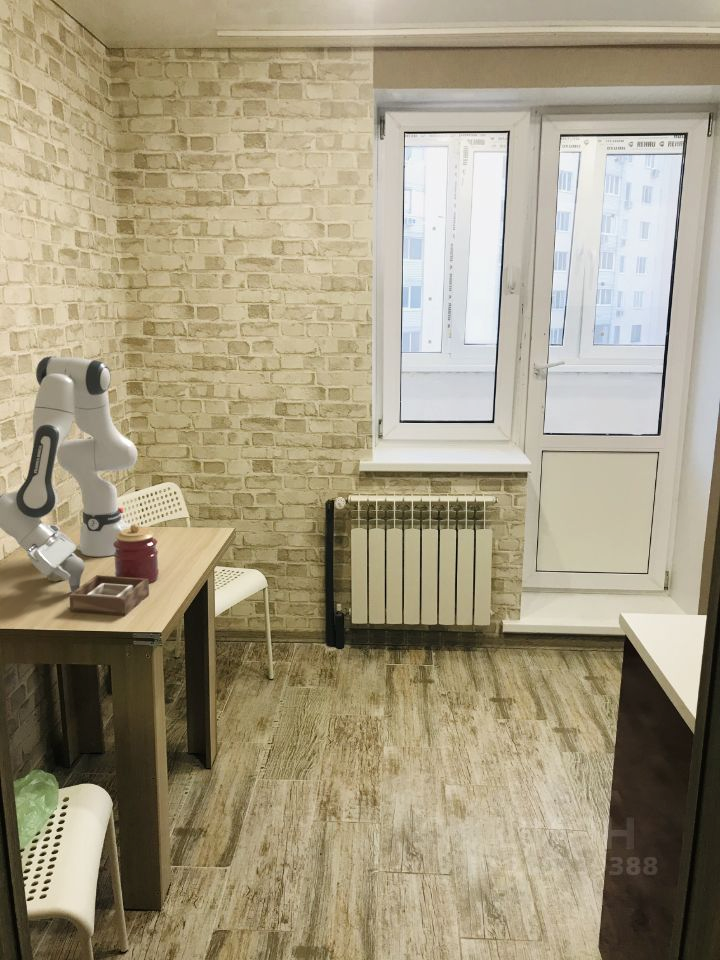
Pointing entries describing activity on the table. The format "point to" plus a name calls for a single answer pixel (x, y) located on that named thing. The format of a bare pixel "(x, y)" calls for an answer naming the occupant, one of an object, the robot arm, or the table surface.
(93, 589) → the socket box
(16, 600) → the table surface
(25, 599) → the table surface
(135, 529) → the canister
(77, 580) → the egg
